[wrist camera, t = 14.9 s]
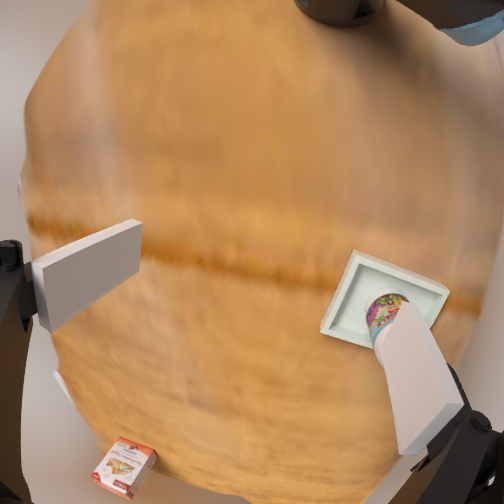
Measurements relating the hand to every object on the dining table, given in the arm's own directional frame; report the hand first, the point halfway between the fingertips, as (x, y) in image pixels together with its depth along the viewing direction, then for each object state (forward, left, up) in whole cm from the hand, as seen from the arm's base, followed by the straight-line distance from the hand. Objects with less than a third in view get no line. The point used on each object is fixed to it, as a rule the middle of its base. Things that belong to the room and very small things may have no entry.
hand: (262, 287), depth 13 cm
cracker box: (+89, -22, -32) cm, 97 cm away
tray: (+11, +19, -32) cm, 39 cm away
